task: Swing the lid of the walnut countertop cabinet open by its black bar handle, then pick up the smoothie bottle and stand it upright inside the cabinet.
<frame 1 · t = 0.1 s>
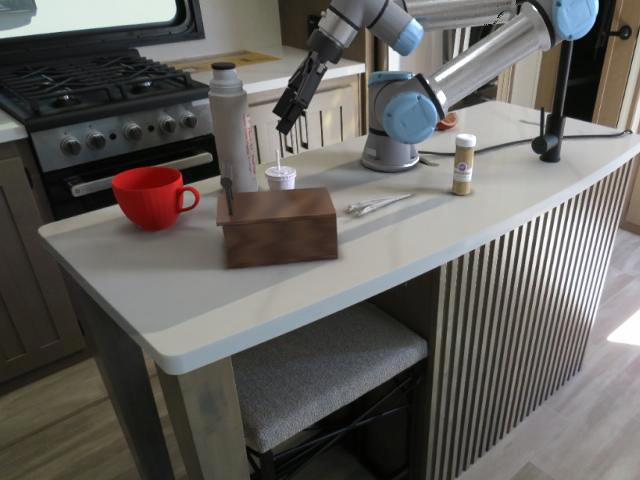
hand: (278, 123, 125), 15 cm above the worktop, tool tilted 35°, fingers open, 13 cm apart
thermos bottle: (240, 191, 132), on the worktop
sprinkles bottle: (460, 192, 135), on the worktop
fruit slice: (445, 130, 178), on the worktop
tweezers: (382, 205, 127), on the worktop
smoothie: (284, 214, 122), on the worktop
ceramic cup: (166, 225, 116), on the worktop
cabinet: (282, 247, 109), on the worktop
lid: (273, 187, 102), point 12 cm above the worktop, hinge at 0.0°
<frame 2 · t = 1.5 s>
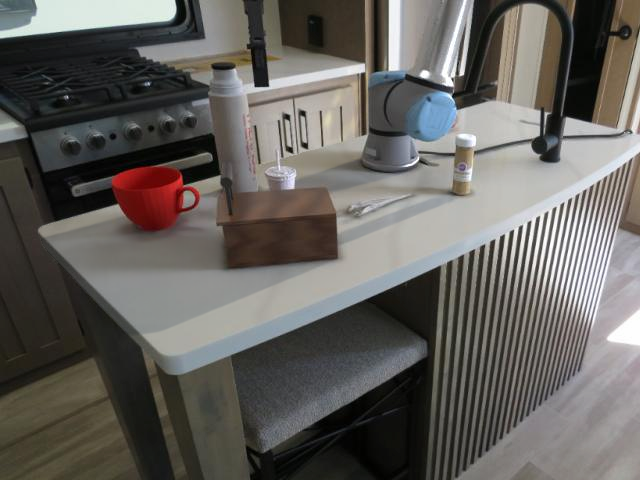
hand: (260, 79, 110), 27 cm above the worktop, tool pointing down, fingers open, 13 cm apart
nothing on the worktop moved.
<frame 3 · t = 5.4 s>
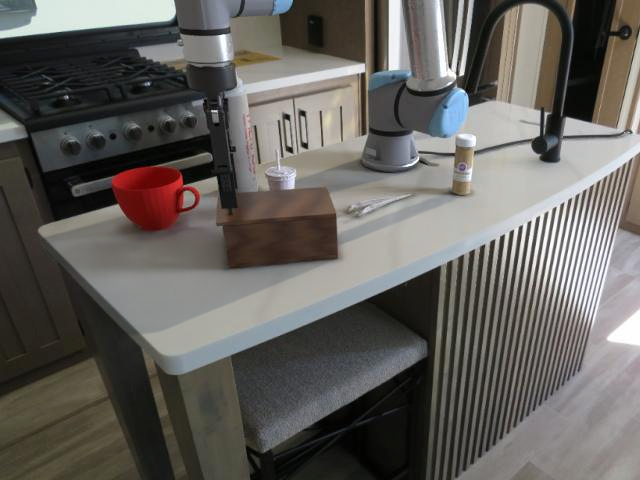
hand: (229, 197, 101), 11 cm above the worktop, tool pointing down, fingers closed on lid, 8 cm apart
lid: (273, 187, 102), point 12 cm above the worktop, hinge at 0.0°, touching gripper
everything else where it was.
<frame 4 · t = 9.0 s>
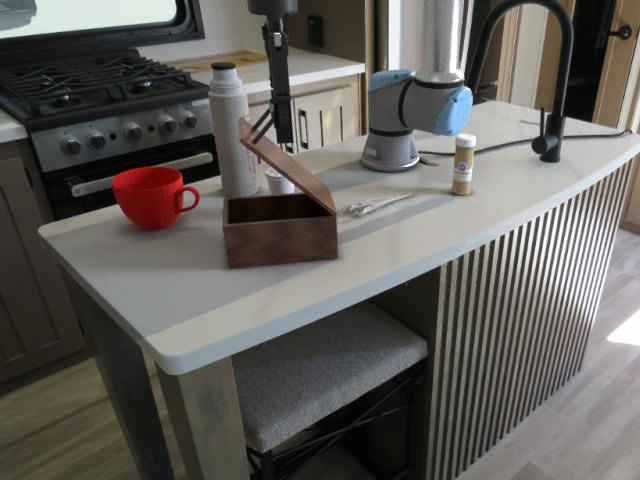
hand: (283, 134, 97), 22 cm above the worktop, tool pointing down, fingers closed on lid, 8 cm apart
lid: (300, 152, 100), point 19 cm above the worktop, hinge at 43.8°, touching gripper
everything else where it was.
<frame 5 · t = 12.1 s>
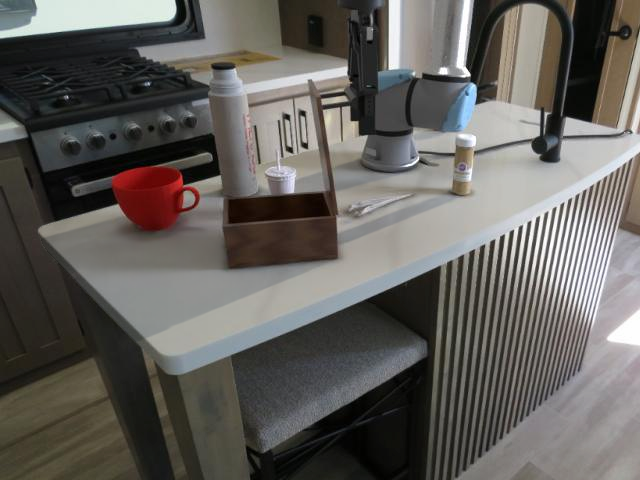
hand: (362, 127, 100), 22 cm above the worktop, tool pointing down, fingers closed on lid, 8 cm apart
lid: (342, 144, 101), point 20 cm above the worktop, hinge at 84.0°, touching gripper
everything else where it was.
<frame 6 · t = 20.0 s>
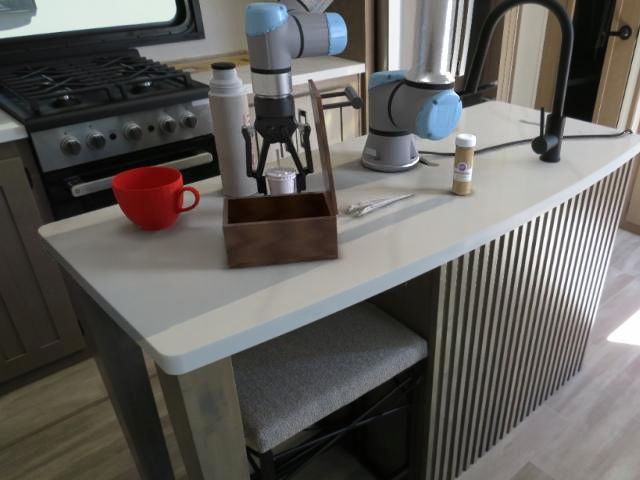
hand: (283, 205, 120), 2 cm above the worktop, tool pointing down, fingers closed on smoothie, 6 cm apart
smoothie: (284, 214, 122), on the worktop, touching gripper
lid: (342, 144, 101), point 20 cm above the worktop, hinge at 84.2°
everything else where it was.
when the fingers open (3 cm above the worktop, at t = 28.9 s): smoothie stays where it is, resting on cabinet.
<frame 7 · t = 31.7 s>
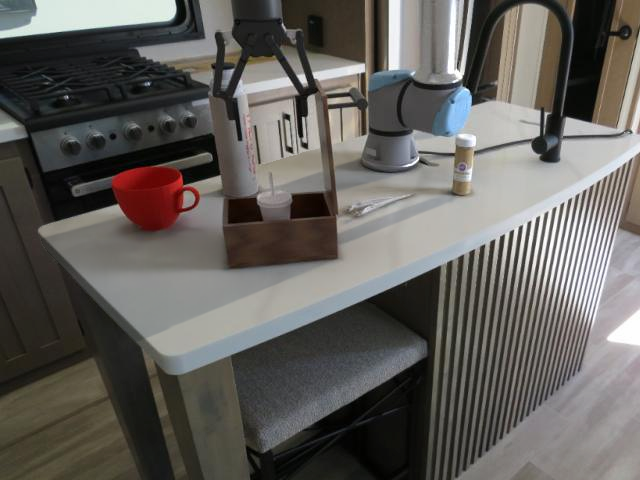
hand: (270, 137, 98), 21 cm above the worktop, tool pointing down, fingers open, 10 cm apart
smoothie: (279, 244, 108), point 1 cm above the worktop, touching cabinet
lid: (345, 145, 101), point 19 cm above the worktop, hinge at 86.7°
everything else where it was.
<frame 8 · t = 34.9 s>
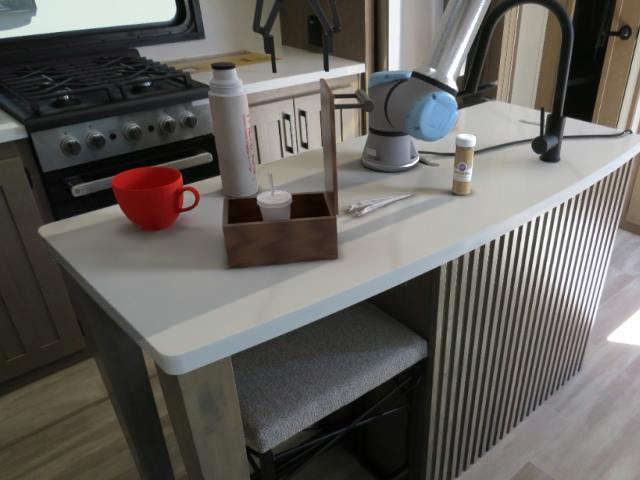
hand: (300, 71, 113), 28 cm above the worktop, tool pointing down, fingers open, 10 cm apart
lid: (348, 146, 101), point 19 cm above the worktop, hinge at 90.0°
everything else where it was.
at the end: lid at +90° (first picture: +0°); smoothie inside the target area in the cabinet (0.5 cm from its centre), point 0.7 cm above the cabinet's base; smoothie tilted 0° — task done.
